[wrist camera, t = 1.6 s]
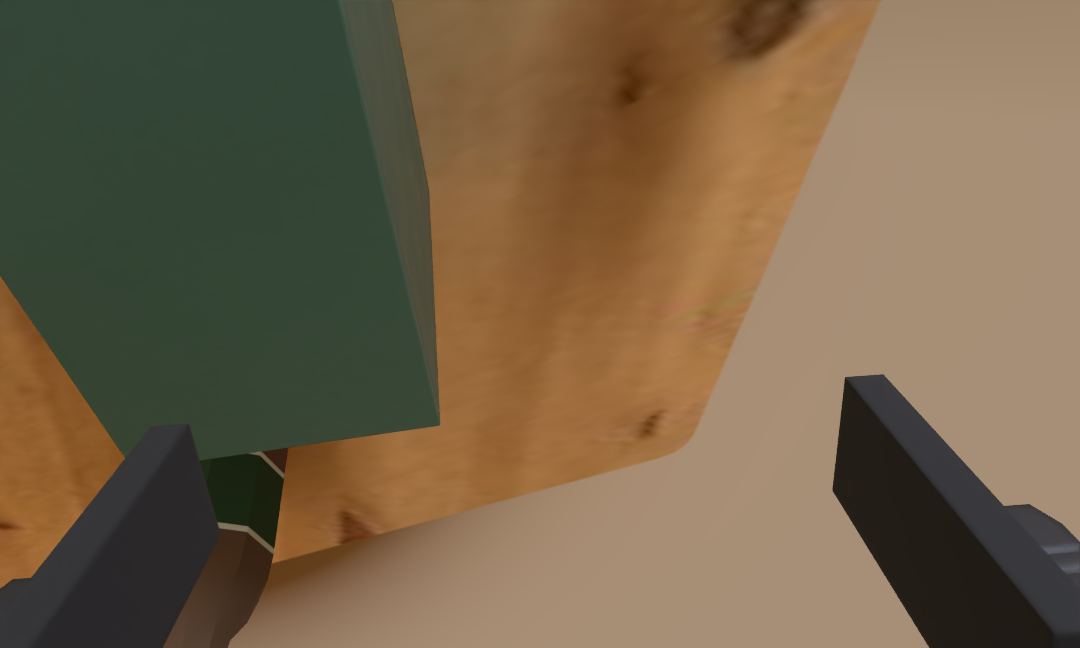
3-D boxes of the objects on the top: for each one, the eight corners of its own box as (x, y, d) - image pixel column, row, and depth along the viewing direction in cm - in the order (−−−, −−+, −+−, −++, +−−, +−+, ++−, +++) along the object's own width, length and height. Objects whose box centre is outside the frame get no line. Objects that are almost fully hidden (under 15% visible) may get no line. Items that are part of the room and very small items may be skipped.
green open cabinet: (211, 220, 47) (133, 470, 33) (14, -244, 31) (-285, -137, 18) (429, 192, 47) (440, 426, 34) (338, -276, 32) (291, -198, 18)
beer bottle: (221, 378, 55) (136, 737, 38) (312, 425, 60) (275, 766, 42) (160, 435, 58) (54, 792, 40) (251, 475, 63) (192, 813, 45)
